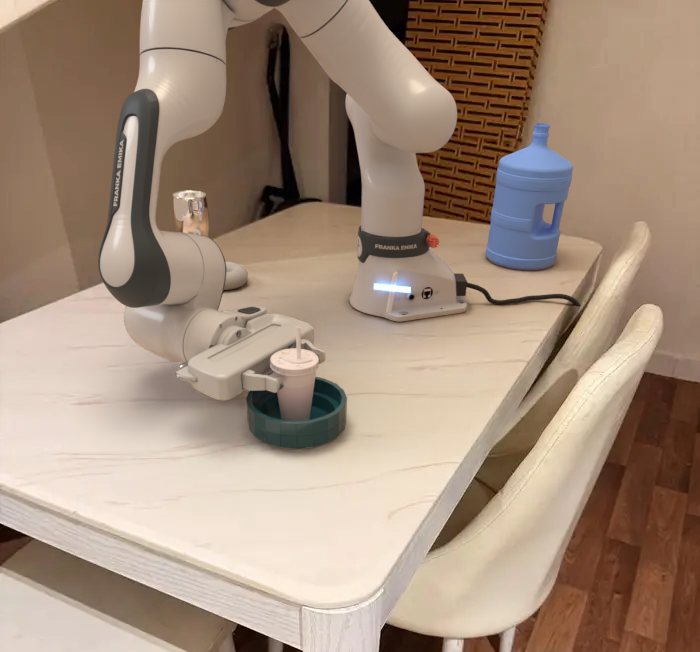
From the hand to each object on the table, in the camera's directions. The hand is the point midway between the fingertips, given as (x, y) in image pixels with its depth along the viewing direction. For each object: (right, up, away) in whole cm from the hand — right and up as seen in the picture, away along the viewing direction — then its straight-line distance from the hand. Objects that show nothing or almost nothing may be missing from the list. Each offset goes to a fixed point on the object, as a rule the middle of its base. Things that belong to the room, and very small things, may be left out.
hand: (302, 371), depth 91 cm
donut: (-19, +24, +50) cm, 59 cm away
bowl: (-1, -7, +5) cm, 9 cm away
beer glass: (-26, +29, +57) cm, 69 cm away
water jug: (+45, +34, +68) cm, 88 cm away
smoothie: (-1, -7, +5) cm, 8 cm away
